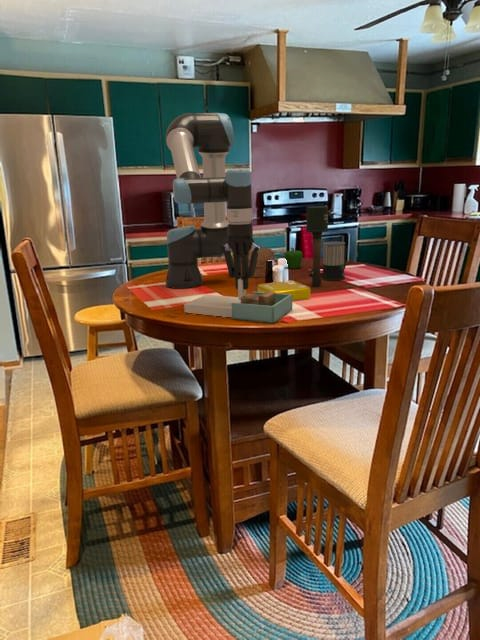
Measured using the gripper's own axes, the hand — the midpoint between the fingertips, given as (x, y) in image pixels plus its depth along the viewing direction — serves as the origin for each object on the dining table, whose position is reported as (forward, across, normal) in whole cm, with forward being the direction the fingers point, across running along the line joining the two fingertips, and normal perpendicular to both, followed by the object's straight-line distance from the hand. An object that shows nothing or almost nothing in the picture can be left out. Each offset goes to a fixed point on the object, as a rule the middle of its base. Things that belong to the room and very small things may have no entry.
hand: (242, 299), depth 149 cm
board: (+4, -9, 0) cm, 10 cm away
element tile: (+5, +5, +24) cm, 25 cm away
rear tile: (+2, +4, 0) cm, 4 cm away
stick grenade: (+5, +11, +44) cm, 46 cm away
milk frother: (+5, +10, +62) cm, 63 cm away
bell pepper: (+5, -11, +79) cm, 80 cm away
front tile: (+1, +7, 0) cm, 7 cm away
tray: (+4, +7, 0) cm, 8 cm away
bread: (+5, -25, +66) cm, 71 cm away
